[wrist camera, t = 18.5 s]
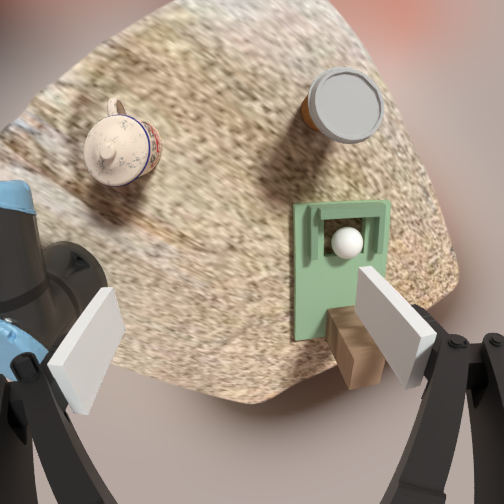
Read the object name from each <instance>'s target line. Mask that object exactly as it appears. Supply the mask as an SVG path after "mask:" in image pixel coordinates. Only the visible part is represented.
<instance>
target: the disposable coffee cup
mask: <svg viewBox="0 0 504 504" xmlns="http://www.w3.org/2000/svg"><path fill="white" fill-rule="evenodd" d="M301 114H302V117H303V120H304V121H305V123H306V124H307V125H308V126H309V127H310V128H312V129H314V130H316V131H319V132H321V133H323V134H324V135H326V136H327V137H328V138H330V139H332V140H334V141H336V142H340V143H345V144H355V143H359V142H363V141H364V140H366V139H368V138H370V137H371V136H372V135H373V134H374V133H375V132H376V130H377V129H378V127H379V125H380V123H381V122H382V118H383V114H384V102H383V97H382V95H381V92H380V90H379V88H378V87H377V85H376V84H375V83H374V82H373V80H371V79H370V78H369V77H368V76H367V75H365V74H363V73H362V72H360V71H358V70H355V69H352V68H349V67H334V68H331V69H328V70H326V71H324V72H322V73H321V74H320V75H319V76H317V78H316V79H315V80H314V82H313V83H312V85H311V87H310V90H309V94H308V95H307V97H306V98H305V99H304V101H303V103H302V107H301Z"/></svg>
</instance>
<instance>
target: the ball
mask: <svg viewBox="0 0 504 504" xmlns="http://www.w3.org/2000/svg"><path fill="white" fill-rule="evenodd" d="M331 245H332V249H333V251H334V252H335V254H336V255H337V256H339V257H341V258H343V259H351V258H354V257H356V256H357V255H358V254H359V253H360V252H361V250H362V247H363V239H362V236H361V234H360V233H359V231H357V230H356V229H355V228H352V227H342V228H340V229H338V230H337V231H336V232H335V233H334V235H333V237H332V241H331Z"/></svg>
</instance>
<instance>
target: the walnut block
mask: <svg viewBox="0 0 504 504" xmlns="http://www.w3.org/2000/svg"><path fill="white" fill-rule="evenodd" d="M325 338H326V340H327V342H328V344H329V347H330V349H331V351H332V353H333V355H334V358H335V360H336V362H337V364H338V366H339V369H340V371H341V373H342V376H343V378H344V380H345V382H346V385H347V386H348V389H349V390H351V389H356V388H361V387H366V386H370V385H375V384H379V383H380V379H381V375H382V371H383V367H384V363H385V359H386V358H385V357H384V355H383V354H382V352H381V351H380V349H379V348H378V346H377V344H376V343H375V341H374V340H373V338H372V337H371V335H370V334H369V332H368V331H367V329H366V328H365V326H364V325H363V323H362V322H361V320H360V319H359V317H358V316H357V314H356V313H355V306H354V305H352V306H345V307H337V308H330V309H327V318H326V332H325Z"/></svg>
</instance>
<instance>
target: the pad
mask: <svg viewBox="0 0 504 504" xmlns="http://www.w3.org/2000/svg"><path fill="white" fill-rule="evenodd" d="M390 210H391V202H390V201H388V200H363V201H337V202H316V203H298V204H293V237H294V338H295V341H297V340H305V339H313V338H320V337H325V332H326V318H327V309H330V308H337V307H345V306H352V305H354V306H355V302H356V293H357V282H358V270H359V267H365V266H372V267H373V268H374V269H375V270H376V271H377V272H378V273H379V274H380V275H381V276H382V277H383V278H384V279H385V271H386V261H387V251H388V240H389V227H390ZM360 217H362V231H361V236H362V239H363V247H362V250H361V252H360V253H359V254H358V255H357V256H356V257H354V258H351V259H343V258H341V257H339V256H337V255H336V254H335V253H327V254H324V220H325V219H342V218H360Z"/></svg>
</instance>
